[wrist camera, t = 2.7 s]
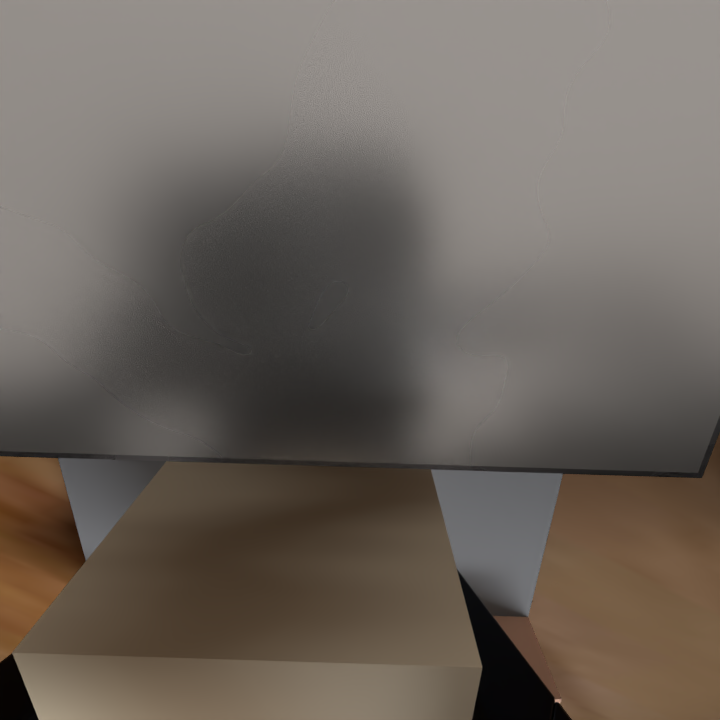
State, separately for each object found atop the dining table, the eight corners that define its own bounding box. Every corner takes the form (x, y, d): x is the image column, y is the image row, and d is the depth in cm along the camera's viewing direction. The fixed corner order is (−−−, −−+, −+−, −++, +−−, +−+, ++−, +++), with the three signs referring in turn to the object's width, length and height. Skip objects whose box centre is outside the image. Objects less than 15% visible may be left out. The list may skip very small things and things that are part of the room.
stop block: (420, 428, 9) (482, 667, 4) (405, 593, 11) (437, 892, 6) (198, 422, 9) (13, 652, 4) (218, 587, 11) (103, 881, 6)
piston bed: (647, 13, 7) (816, -109, 4) (511, 617, 12) (552, 728, 10) (-30, -9, 7) (-263, -141, 4) (121, 605, 12) (53, 713, 10)
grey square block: (543, 90, 7) (965, -206, 2) (506, 325, 8) (701, 478, 3) (63, 74, 7) (-647, -256, 2) (109, 312, 8) (-245, 447, 3)
